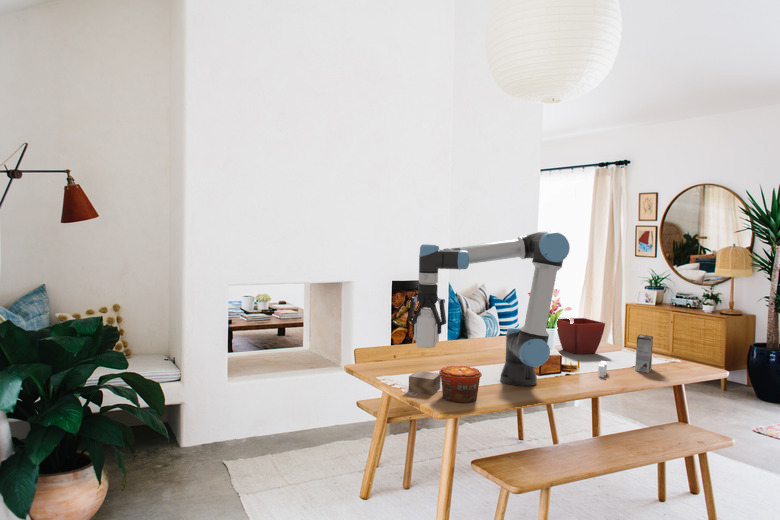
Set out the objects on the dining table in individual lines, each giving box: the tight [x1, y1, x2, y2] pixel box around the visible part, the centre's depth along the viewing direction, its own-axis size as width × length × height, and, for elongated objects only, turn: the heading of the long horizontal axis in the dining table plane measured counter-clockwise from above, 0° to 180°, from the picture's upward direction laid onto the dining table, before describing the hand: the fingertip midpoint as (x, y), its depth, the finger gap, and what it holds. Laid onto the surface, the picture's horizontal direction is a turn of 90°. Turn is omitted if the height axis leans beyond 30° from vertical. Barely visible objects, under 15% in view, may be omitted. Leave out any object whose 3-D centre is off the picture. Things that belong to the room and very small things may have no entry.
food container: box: [438, 365, 483, 404], centre depth 212 cm, size 16×16×11 cm
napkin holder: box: [597, 360, 608, 378], centre depth 255 cm, size 15×11×6 cm
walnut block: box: [408, 370, 442, 396], centre depth 222 cm, size 10×10×6 cm
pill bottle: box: [415, 307, 437, 349], centre depth 221 cm, size 8×8×15 cm
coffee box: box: [634, 334, 654, 373], centre depth 266 cm, size 9×6×16 cm
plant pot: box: [556, 317, 606, 355], centre depth 304 cm, size 19×19×17 cm
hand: (426, 340), depth 221 cm, fingers closed on pill bottle, 8 cm apart
